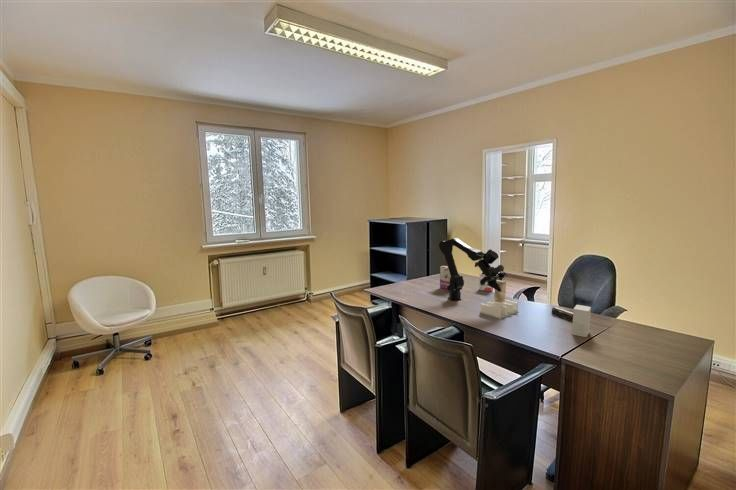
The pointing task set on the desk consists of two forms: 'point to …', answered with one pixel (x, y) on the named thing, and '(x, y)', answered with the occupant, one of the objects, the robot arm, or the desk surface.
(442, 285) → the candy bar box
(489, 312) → the rack
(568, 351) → the desk surface
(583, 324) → the small box
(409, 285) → the desk surface
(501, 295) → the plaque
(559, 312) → the brown flat box
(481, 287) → the ink box
